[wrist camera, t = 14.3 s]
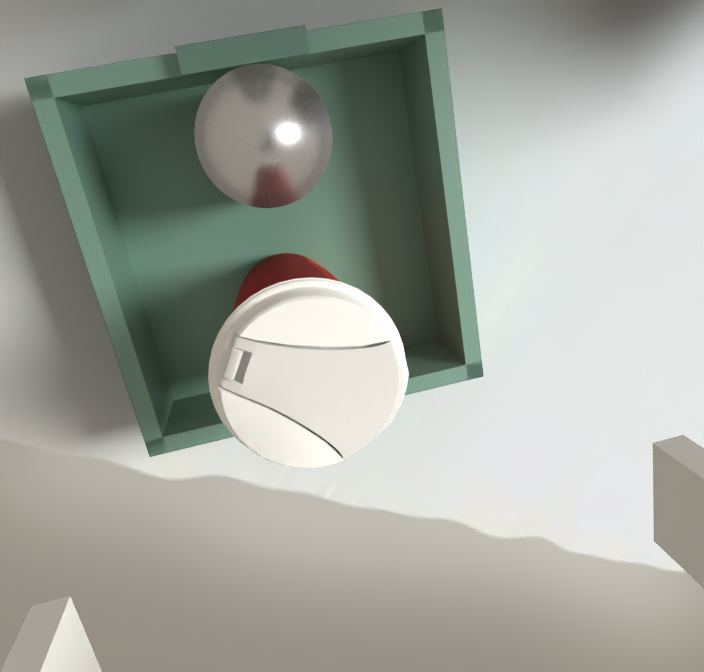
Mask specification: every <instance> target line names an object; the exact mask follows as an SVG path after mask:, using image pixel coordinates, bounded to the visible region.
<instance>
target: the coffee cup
mask: <svg viewBox="0 0 704 672" xmlns="http://www.w3.org/2000/svg"><path fill="white" fill-rule="evenodd" d="M408 376H409V372H408V367H407V363H406V358H405V353H404V347H403V343H402V340H401V337H400V335H399V332H398V330H397V328H396V326H395V324H394V323H393V321H392V319H391V318H390V316H389V315H388V314H387V313H386V311H385V310H384V309H383V308H382V306H380V305H379V304H378V303H377V302H376V301H375V300H374V299H373V298H371V297H370V296H369V295H367V294H365V293H364V292H362V291H361V290H359V289H357V288H355V287H353V286H350V285H348V284H346V283H343V282H340V281H339V280H338V279H337V278H336V277H334V276H333V275H332V274H331V273H330V272H328V271H327V270H326V269H325V268H323V267H322V266H321V265H319V264H318V263H316V262H315V261H313V260H312V259H310V258H307V257H305V256H302V255H299V254H293V253H281V254H276V255H272V256H270V257H267V258H265V259H263V260H262V261H260V262H259V263H257V264H256V265H255V266H254V267H253V268H252V269H251V270H250V271H249V273H248V274H247V276H246V277H245V279H244V281H243V283H242V285H241V288H240V290H239V293H238V296H237V299H236V302H235V305H234V308H233V311H232V314H231V315H230V316H229V317H228V318H227V320H226V321H225V323H224V325H223V326H222V328H221V329H220V331H219V333H218V335H217V337H216V340H215V342H214V345H213V347H212V351H211V356H210V360H209V372H208V380H209V388H210V394H211V398H212V401H213V404H214V407H215V409H216V411H217V413H218V415H219V417H220V419H221V421H222V422H223V423H224V425H225V426H226V428H227V429H228V430H229V432H230V433H231V434H232V435H234V436H235V437H236V438H237V439H238V440H239V441H240V442H241V443H242V444H244V445H245V446H247V447H248V448H249V449H251V450H252V451H254V452H255V453H256V454H258V455H259V456H262V457H264V458H266V459H268V460H270V461H272V462H275V463H278V464H281V465H285V466H291V467H297V468H314V467H322V466H328V465H331V464H335V463H339V462H341V461H343V460H345V459H347V458H348V457H350V456H351V455H353V454H355V453H356V452H358V451H359V450H361V449H362V448H363V447H365V446H366V445H367V444H369V443H370V442H372V441H373V439H374V438H375V437H376V436H377V435H379V434H380V433H381V432H382V431H383V430H384V429H385V428H386V427H387V426H388V425H389V424H390V423H391V421H392V420H393V419H394V417H395V415H396V413H397V411H398V409H399V407H400V405H401V403H402V401H403V398H404V395H405V392H406V388H407V383H408Z"/></svg>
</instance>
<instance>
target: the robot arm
mask: <svg viewBox="0 0 704 672" xmlns="http://www.w3.org/2000/svg"><path fill="white" fill-rule="evenodd" d="M653 498H654V541H655V542H656V543H657V544H658V545H659V546H660V547H661V548H662V549H663V550H664V551H665V552H666V553H667V554H668V555H669V556H670V557H671V558H672V559H674V560H675V561H676V562H677V563H678V564H679V565H680V566H681V567H682V568H683V569H684V570H685V571H686V572H687V573H688V574H689V575H690V576H692V578H694V579H695V580H696V581H697V582H698V583H699V584H700V585H701V586H702V587H703V588H704V448H702V447H701V446H699V445H698V444H696V443H695V442H693V441H692V440H690V439H688V438H687V437H685V436H684V435H682V436H678V437H674V438H670V439H666V440H663V441H659V442H655V443H653ZM1 672H102V671H101V669H100V666H99V664H98V662H97V659H96V657H95V654H94V652H93V650H92V647H91V645H90V643H89V640H88V638H87V636H86V633H85V631H84V628H83V626H82V624H81V621H80V619H79V616H78V614H77V612H76V609H75V607H74V605H73V602H72V600H71V598H70V596H69V597H65V598H62V599H58V600H54V601H50V602H46V603H43V604H39V605H35V606H32V607H31V609H30V611H29V613H28V615H27V617H26V620H25V622H24V624H23V626H22V628H21V630H20V632H19V634H18V637H17V639H16V641H15V643H14V645H13V648H12V650H11V652H10V654H9V656H8V658H7V660H6V662H5V664H4V666H3V669H2V671H1Z"/></svg>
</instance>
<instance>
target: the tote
mask: <svg viewBox="0 0 704 672" xmlns="http://www.w3.org/2000/svg"><path fill="white" fill-rule="evenodd" d="M175 49H176V53H173V54H167V55H161V56H155V57H149V58H143V59H137V60H131V61H125V62H119V63H113V64H107V65H101V66H95V67H89V68H83V69H77V70H71V71H65V72H59V73H53V74H47V75H42V76H36V77H30V78H24V79H25V82H26V85H27V88H28V91H29V94H30V97H31V100H32V103H33V106H34V109H35V112H36V115H37V119H38V122H39V125H40V128H41V131H42V134H43V137H44V140H45V143H46V146H47V149H48V152H49V155H50V158H51V161H52V164H53V167H54V170H55V173H56V176H57V179H58V182H59V185H60V188H61V191H62V194H63V197H64V200H65V203H66V206H67V209H68V212H69V215H70V218H71V221H72V224H73V227H74V230H75V233H76V236H77V239H78V242H79V245H80V248H81V251H82V254H83V257H84V260H85V263H86V266H87V269H88V272H89V275H90V278H91V281H92V284H93V287H94V290H95V293H96V296H97V299H98V302H99V305H100V308H101V311H102V314H103V317H104V320H105V323H106V326H107V329H108V332H109V335H110V338H111V341H112V344H113V347H114V350H115V353H116V356H117V359H118V362H119V365H120V368H121V371H122V374H123V377H124V380H125V384H126V387H127V390H128V393H129V396H130V399H131V402H132V405H133V408H134V411H135V414H136V417H137V420H138V423H139V426H140V429H141V432H142V435H143V438H144V441H145V444H146V447H147V450H148V453H149V456H150V457H152V456H156V455H160V454H164V453H168V452H172V451H176V450H180V449H185V448H189V447H193V446H197V445H201V444H205V443H209V442H214V441H218V440H222V439H226V438H230V437H234V435H232V434H231V433H230V432H229V430H228V429H227V428H226V426H225V425H224V423H223V422H222V421H221V419H220V417H219V415H218V413H217V411H216V409H215V407H214V404H213V401H212V398H211V394H210V388H209V380H208V372H209V360H210V356H211V351H212V347H213V345H214V342H215V340H216V337H217V335H218V333H219V331H220V329H221V328H222V326H223V325H224V323H225V321H226V320H227V318H228V317H229V316H230V315H231V314H232V311H233V308H234V305H235V302H236V299H237V296H238V293H239V290H240V288H241V285H242V283H243V281H244V279H245V277H246V276H247V274H248V273H249V271H250V270H251V269H252V268H253V267H254V266H255V265H256V264H257V263H259V262H260V261H262V260H263V259H265V258H267V257H270V256H272V255H276V254H281V253H293V254H299V255H302V256H305V257H307V258H310V259H312V260H313V261H315V262H316V263H318V264H319V265H321V266H322V267H323V268H325V269H326V270H327V271H328V272H330V273H331V274H332V275H333V276H334V277H336V278H337V279H338V280H339V281H340V282H343V283H346V284H348V285H350V286H353V287H355V288H357V289H359V290H361V291H362V292H364V293H365V294H367V295H369V296H370V297H371V298H373V299H374V300H375V301H376V302H377V303H378V304H379V305H380V306H382V308H383V309H384V310H385V311H386V313H387V314H388V315H389V316H390V318H391V319H392V321H393V323H394V324H395V326H396V328H397V330H398V332H399V335H400V337H401V340H402V343H403V347H404V353H405V358H406V363H407V367H408V372H409V376H408V383H407V388H406V392H405V395H408V394H412V393H416V392H421V391H425V390H429V389H433V388H437V387H441V386H445V385H449V384H454V383H458V382H462V381H466V380H470V379H474V378H478V377H483V368H482V360H481V351H480V342H479V333H478V324H477V316H476V307H475V298H474V289H473V280H472V272H471V263H470V254H469V245H468V236H467V228H466V219H465V210H464V201H463V192H462V184H461V175H460V166H459V157H458V148H457V140H456V131H455V122H454V113H453V104H452V96H451V87H450V78H449V69H448V60H447V52H446V43H445V34H444V25H443V16H442V8H441V9H435V10H429V11H423V12H418V13H412V14H406V15H400V16H394V17H388V18H382V19H376V20H370V21H364V22H358V23H352V24H346V25H340V26H334V27H328V28H322V29H316V30H310V31H305V25H302V26H296V27H290V28H284V29H278V30H272V31H266V32H260V33H254V34H248V35H242V36H236V37H230V38H224V39H218V40H212V41H206V42H200V43H194V44H188V45H182V46H176V47H175ZM252 64H269V65H274V66H278V67H282V68H285V69H287V70H289V71H291V72H293V73H295V74H296V75H298V76H299V77H301V78H302V79H304V80H305V81H306V82H307V83H308V84H309V85H310V86H311V87H312V88H313V89H314V90H315V91H316V93H317V94H318V95H319V97H320V98H321V100H322V102H323V104H324V106H325V107H326V110H327V113H328V115H329V118H330V123H331V127H332V152H331V156H330V160H329V164H328V166H327V169H326V171H325V173H324V175H323V176H322V178H321V180H320V181H319V182H318V184H317V185H316V186H315V187H314V188H313V189H312V190H311V191H310V192H309V193H308V194H306V195H305V196H304V197H302V198H301V199H299V200H297V201H296V202H293V203H291V204H289V205H285V206H282V207H276V208H258V207H252V206H248V205H245V204H242V203H240V202H237V201H235V200H234V199H232V198H230V197H228V196H227V195H226V194H224V193H223V192H222V191H221V190H220V189H219V188H218V187H216V186H215V185H214V183H213V182H212V181H211V180H210V178H209V177H208V175H207V174H206V172H205V171H204V169H203V167H202V165H201V163H200V160H199V157H198V154H197V151H196V145H195V136H194V129H195V120H196V115H197V111H198V108H199V106H200V103H201V101H202V99H203V97H204V95H205V94H206V92H207V91H208V90H209V88H210V87H211V86H212V85H213V84H214V83H215V82H216V81H217V80H218V79H219V78H221V77H222V76H223V75H225V74H226V73H228V72H230V71H231V70H234V69H236V68H239V67H242V66H246V65H252Z"/></svg>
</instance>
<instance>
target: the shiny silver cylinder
mask: <svg viewBox="0 0 704 672" xmlns="http://www.w3.org/2000/svg"><path fill="white" fill-rule="evenodd" d="M194 136H195V145H196V151H197V154H198V157H199V160H200V163H201V165H202V167H203V169H204V171H205V172H206V174H207V175H208V177H209V178H210V180H211V181H212V182H213V183H214V185H215V186H216V187H218V188H219V189H220V190H221V191H222V192H223V193H224V194H226V195H227V196H228V197H230V198H232V199H234V200H235V201H237V202H240V203H242V204H245V205H248V206H252V207H258V208H276V207H282V206H285V205H289V204H291V203H293V202H296V201H297V200H299V199H301V198H302V197H304V196H305V195H306V194H308V193H309V192H310V191H311V190H312V189H313V188H314V187H315V186H316V185H317V184H318V182H319V181H320V180H321V178H322V176H323V175H324V173H325V171H326V169H327V166H328V164H329V160H330V156H331V152H332V127H331V123H330V118H329V115H328V113H327V110H326V107H325V106H324V104H323V102H322V100H321V98H320V97H319V95H318V94H317V93H316V91H315V90H314V89H313V88H312V87H311V86H310V85H309V84H308V83H307V82H306V81H305V80H304V79H302V78H301V77H299V76H298V75H296V74H295V73H293V72H291V71H289V70H287V69H285V68H282V67H278V66H274V65H269V64H252V65H246V66H242V67H239V68H236V69H234V70H231V71H230V72H228V73H226V74H225V75H223V76H222V77H221V78H219V79H218V80H217V81H216V82H215V83H214V84H213V85H212V86H211V87H210V88H209V90H208V91H207V92H206V94H205V95H204V97H203V99H202V101H201V103H200V106H199V108H198V111H197V115H196V120H195V129H194Z"/></svg>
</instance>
